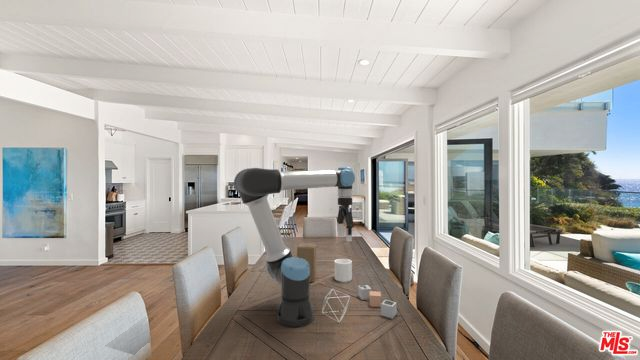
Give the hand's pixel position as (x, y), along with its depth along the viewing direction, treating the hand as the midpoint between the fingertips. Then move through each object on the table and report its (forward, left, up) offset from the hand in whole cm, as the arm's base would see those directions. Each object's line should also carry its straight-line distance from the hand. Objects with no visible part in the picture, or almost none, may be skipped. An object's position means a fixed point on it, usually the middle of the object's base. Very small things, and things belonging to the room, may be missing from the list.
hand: (344, 238), depth 142 cm
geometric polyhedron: (-26, -3, -27) cm, 38 cm away
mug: (+18, +6, -27) cm, 33 cm away
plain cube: (-10, -17, -27) cm, 33 cm away
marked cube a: (-18, -24, -27) cm, 40 cm away
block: (+9, +25, -27) cm, 38 cm away
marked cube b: (-4, -11, -27) cm, 29 cm away
